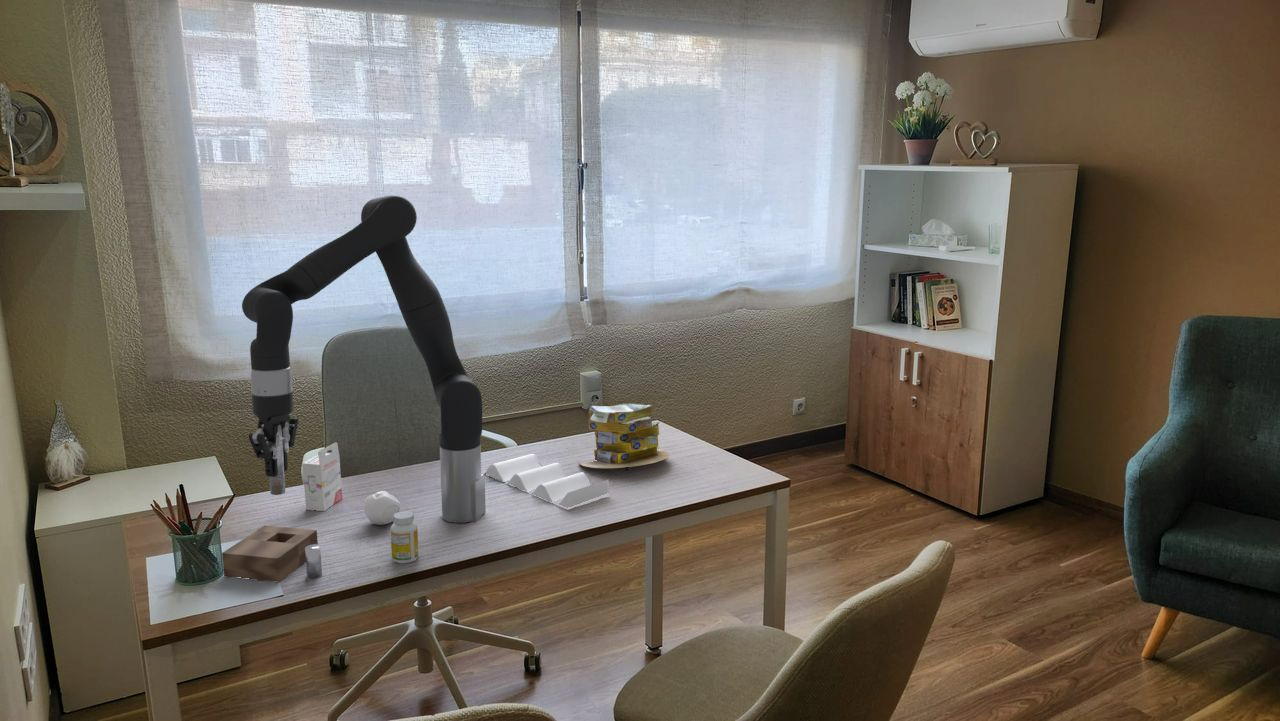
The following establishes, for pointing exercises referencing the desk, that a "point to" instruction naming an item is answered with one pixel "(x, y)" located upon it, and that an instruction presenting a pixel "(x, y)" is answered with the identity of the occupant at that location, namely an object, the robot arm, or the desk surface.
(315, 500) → the ink cartridge box
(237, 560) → the socket block
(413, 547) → the supplement bottle
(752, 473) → the desk surface
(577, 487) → the white wavy rack
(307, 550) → the short pin
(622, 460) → the stack of yellow boxes
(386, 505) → the motion sensor
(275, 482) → the long pin
